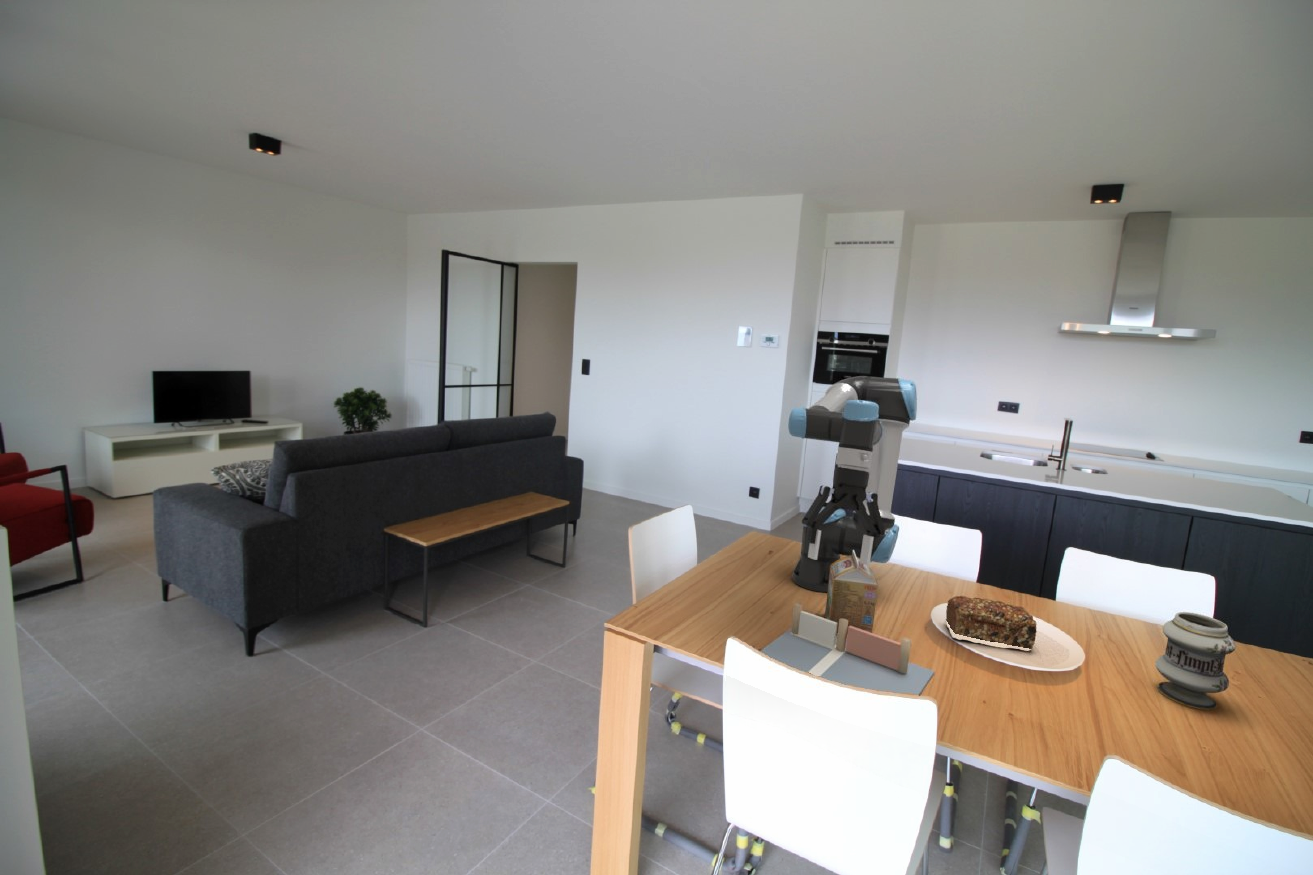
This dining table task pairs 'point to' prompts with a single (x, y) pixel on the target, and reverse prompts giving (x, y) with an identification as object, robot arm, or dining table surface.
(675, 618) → the dining table surface
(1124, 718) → the dining table surface
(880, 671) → the board
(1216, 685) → the apothecary jar
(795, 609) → the fence fixed
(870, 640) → the fence panel
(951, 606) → the bread
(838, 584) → the milk carton
